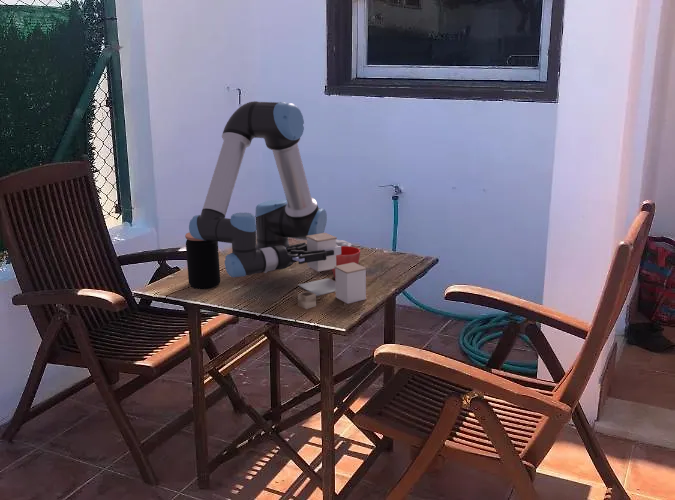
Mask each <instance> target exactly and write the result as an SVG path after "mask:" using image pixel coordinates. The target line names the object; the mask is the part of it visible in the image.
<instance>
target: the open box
mask: <svg viewBox="0 0 675 500" xmlns="http://www.w3.org/2000/svg"><path fill="white" fill-rule="evenodd" d="M297 306H298V307H299V308H303V309H304V310H309V309H311V308H315V307H317V296H316V294H314V293H311V292H309V291H307V290H306V291H303V292H301V293H298V294H297Z"/></svg>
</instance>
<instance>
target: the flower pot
mask: <svg viewBox="0 0 675 500" xmlns="http://www.w3.org/2000/svg"><path fill="white" fill-rule="evenodd" d="M360 256H361V249H359V248H358V247H355V246H352V247H350V246H341V255H336V266H338V265H343V264H348V263H353V262H354V263H356V264H359V263H360V258H361V257H360ZM331 272H332V274H333V275H332V276H333V277H334V279H335V268H334V269H332V270H331Z"/></svg>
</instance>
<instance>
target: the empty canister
mask: <svg viewBox="0 0 675 500" xmlns="http://www.w3.org/2000/svg"><path fill="white" fill-rule="evenodd" d="M334 268H335V278H334V279H335V280H334V281H335V285H336V292H335V298H336V299H338V300H339V301H342V302H344V303H345V304H353V303H356V302H360V301H364V300H367V298H366V297H367V290H366V289H367V280H366V279H367V278H366V275H367V273H366V272H367V267H365V266H363V265H361V264H359V263H358V264H356V263H354V262H353V263H348V264H343V265H338V266H334Z"/></svg>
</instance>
